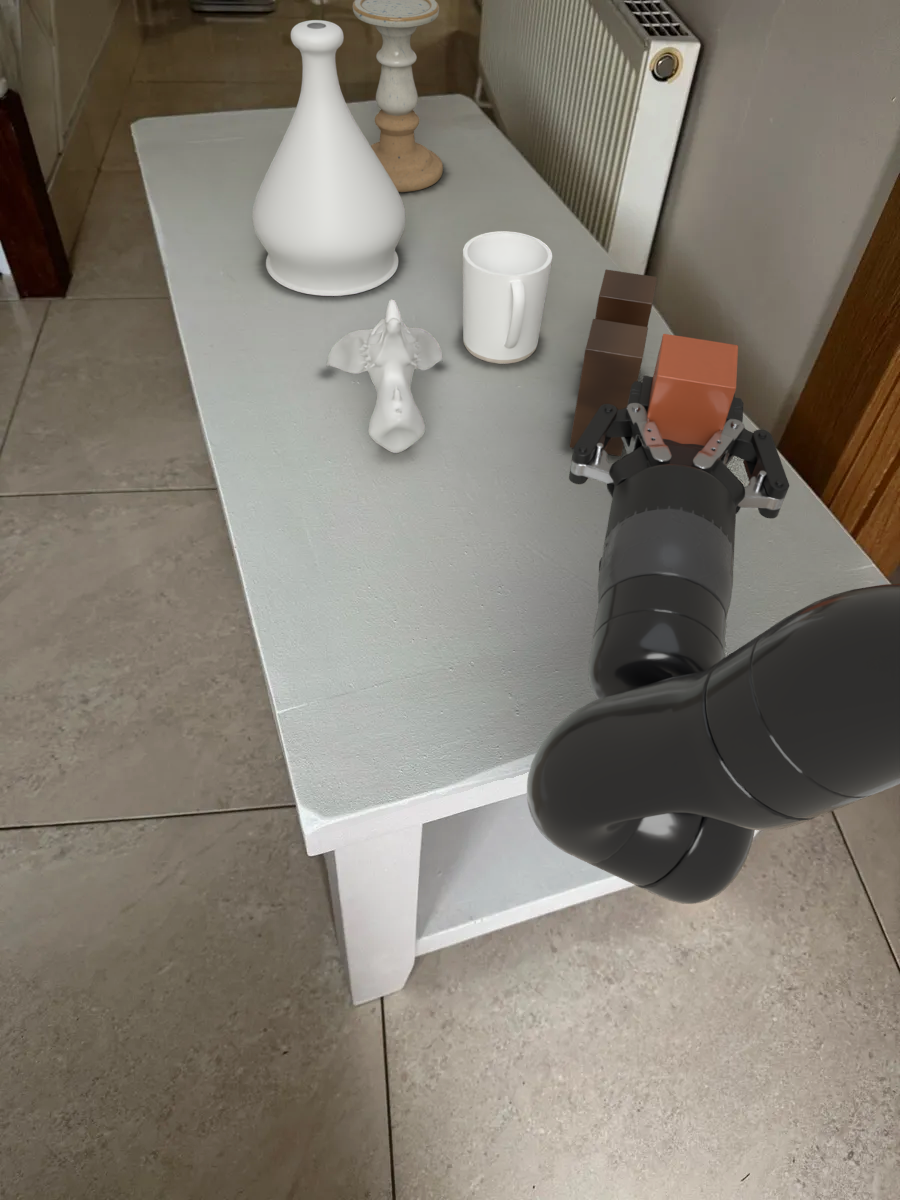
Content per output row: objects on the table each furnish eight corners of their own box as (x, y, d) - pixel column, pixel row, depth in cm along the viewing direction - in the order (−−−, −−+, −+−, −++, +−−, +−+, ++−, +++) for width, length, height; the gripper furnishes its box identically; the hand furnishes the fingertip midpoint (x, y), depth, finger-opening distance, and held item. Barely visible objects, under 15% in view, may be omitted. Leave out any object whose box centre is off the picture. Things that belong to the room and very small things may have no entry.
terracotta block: (699, 471, 70) (738, 344, 62) (695, 515, 67) (736, 388, 59) (633, 460, 71) (663, 333, 62) (626, 503, 67) (656, 375, 59)
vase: (286, 314, 103) (259, 67, 84) (239, 241, 113) (205, 7, 94) (429, 282, 108) (433, 43, 89) (372, 215, 118) (364, -11, 100)
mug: (452, 322, 103) (455, 233, 95) (531, 317, 104) (541, 229, 96) (470, 381, 96) (475, 290, 88) (554, 375, 97) (567, 285, 89)
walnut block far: (636, 373, 98) (657, 276, 89) (631, 401, 94) (652, 303, 86) (589, 365, 98) (605, 268, 90) (582, 392, 95) (598, 295, 87)
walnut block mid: (626, 425, 92) (648, 326, 83) (621, 456, 88) (642, 357, 80) (576, 416, 92) (593, 318, 84) (569, 447, 89) (585, 348, 81)
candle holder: (352, 152, 130) (345, -14, 115) (440, 153, 131) (444, -12, 116) (351, 193, 122) (343, 20, 107) (445, 193, 123) (450, 22, 108)
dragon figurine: (327, 389, 75) (317, 252, 79) (336, 488, 92) (327, 371, 96) (473, 381, 76) (455, 248, 80) (455, 480, 93) (441, 365, 97)
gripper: (812, 537, 51) (806, 363, 62) (553, 491, 53) (592, 330, 64) (772, 625, 56) (773, 451, 67) (539, 581, 58) (577, 418, 69)
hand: (685, 393), depth 66 cm, fingers closed on terracotta block, 5 cm apart
